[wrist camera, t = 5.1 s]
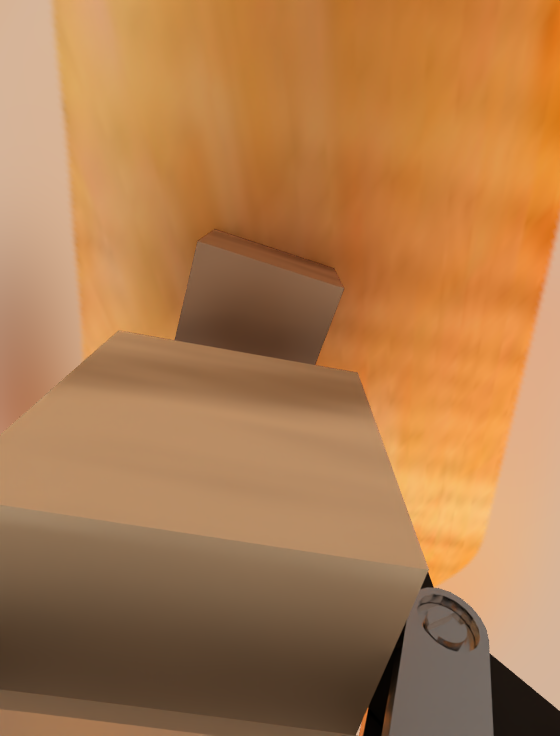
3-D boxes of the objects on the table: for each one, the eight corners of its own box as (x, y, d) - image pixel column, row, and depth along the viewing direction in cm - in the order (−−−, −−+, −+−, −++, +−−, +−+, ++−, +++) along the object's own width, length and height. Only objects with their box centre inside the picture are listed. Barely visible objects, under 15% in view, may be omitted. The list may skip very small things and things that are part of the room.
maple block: (118, 330, 11) (-69, 494, 5) (357, 372, 11) (429, 570, 5) (112, 517, 13) (-20, 769, 7) (308, 547, 13) (322, 809, 8)
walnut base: (214, 228, 24) (197, 241, 19) (333, 268, 25) (344, 288, 20) (187, 341, 27) (166, 375, 22) (295, 373, 27) (296, 413, 23)
